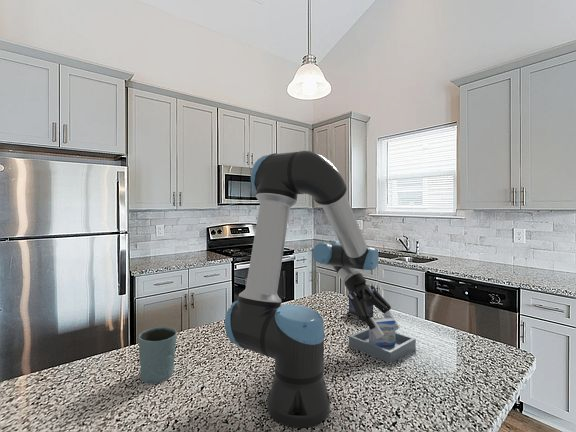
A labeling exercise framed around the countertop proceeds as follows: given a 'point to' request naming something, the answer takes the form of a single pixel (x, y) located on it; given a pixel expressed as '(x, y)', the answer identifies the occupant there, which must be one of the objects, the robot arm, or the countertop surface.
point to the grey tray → (383, 353)
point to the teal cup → (157, 354)
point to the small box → (369, 305)
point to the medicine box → (384, 332)
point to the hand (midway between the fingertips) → (389, 333)
